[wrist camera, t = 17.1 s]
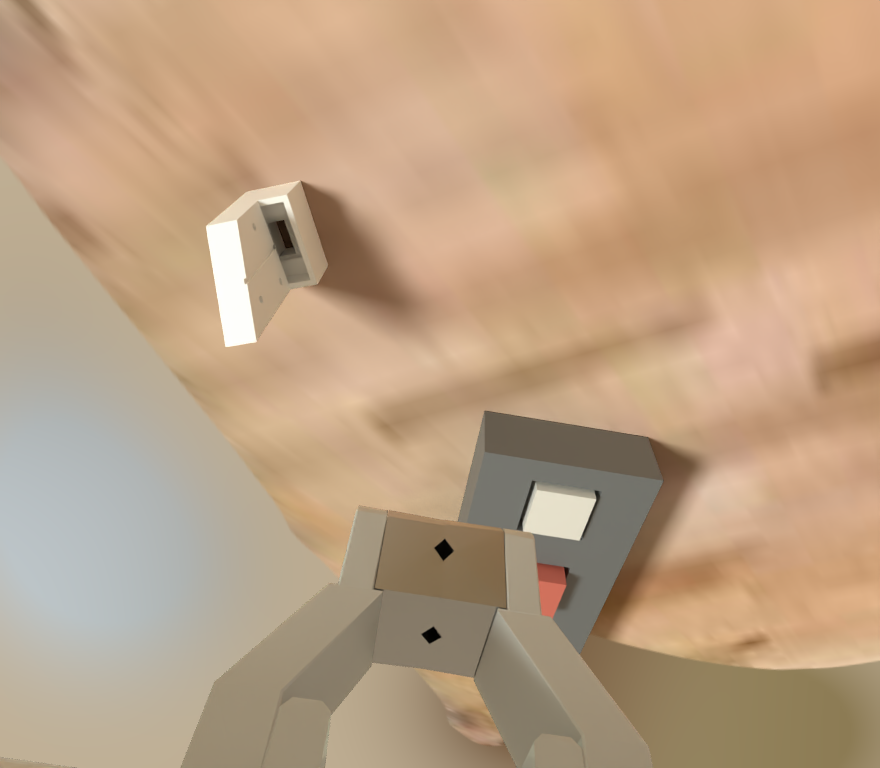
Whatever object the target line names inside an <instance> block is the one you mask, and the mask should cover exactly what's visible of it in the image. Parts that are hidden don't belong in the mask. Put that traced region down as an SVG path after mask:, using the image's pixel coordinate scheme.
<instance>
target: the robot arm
mask: <svg viewBox="0 0 880 768" xmlns="http://www.w3.org/2000/svg"><path fill="white" fill-rule="evenodd" d="M387 515H388V517H387ZM372 663H380V664H389V665H396V666H405V667H413V668H421V669H427V670H433V671H439V672H444V673H450V674H456V675H461V676H467V677H473V678H474V682H475V684H476V686H477V688H478V690H479V692H480V694H481V696H482V698H483V700H484V702H485V704H486V706H487V708H488V710H489V712H490V714H491V716H492V719H493V721H494V723H495V725H496V727H497V729H498V731H499V733H500V735H501V737H502V739H503V741H504V743H505V745H506V747H507V749H508V751H509V753H510V755H511V757H512V759H513V761H514V763H515V765H516V767H517V768H653V765H652V760H651V756H650V751H649V747H648V745H647V744H646V743H645V741H644V740H643V739H642V737H641V736H640V735H639V733H638V732H637V731H636V729H635V728H634V727H633V725H632V724H631V723H630V721H629V720H628V719H627V717H626V716H625V715H624V713H623V712H622V711H621V709H620V708H619V707H618V705H617V704H616V703H615V702H614V700H613V699H612V697H611V696H610V695H609V693H608V692H607V691H606V689H605V688H604V687H603V685H602V684H601V683H600V682H599V680H598V679H597V678H596V676H595V675H594V674H593V672H592V671H591V670H590V668H589V667H588V666H587V664H586V663H585V662H584V660H583V659H582V658H581V656H580V655H579V654H578V652H577V651H576V650H575V648H574V647H573V646H572V644H571V643H570V642H569V640H568V639H567V638H566V636H565V635H564V634H563V632H562V631H561V630H560V628H559V627H558V626H557V624H556V623H555V622H554V620H553V619H552V618H551V617H550V616H544V615H542V612H541V602H540V591H539V581H538V570H537V560H536V550H535V539H534V536H533V534H532V533H531V532H524V531H517V530H510V529H504V528H503V529H501V528H497V527H490V526H483V525H477V524H470V523H463V522H456V521H449V520H440V519H434V518H429V517H424V516H418V515H413V514H407V513H402V512H396V511H391V510H389V512H388V511H387V510H382V509H376V508H371V507H366V506H360V505H359V506H358V509H357V511H356V513H355V517H354V521H353V525H352V529H351V533H350V538H349V542H348V546H347V550H346V554H345V558H344V562H343V566H342V570H341V574H340V578H339V582H338V584H335V583H328V584H327V585H326V586H325V587H324V588H322V589H321V590H320V591H319V592H318V593H317V594H316V595H315V596H313V597H312V598H311V599H310V600H309V601H308V602H306V603H305V604H304V605H303V606H302V607H301V608H299V609H298V610H297V611H296V612H295V613H294V614H292V615H291V616H290V617H289V618H288V619H287V620H286V621H284V622H283V623H282V624H281V625H280V626H279V627H277V628H276V629H275V630H274V631H273V632H272V633H270V634H269V635H268V636H267V637H266V638H265V639H264V640H263V641H261V642H260V643H259V644H258V645H257V646H255V648H253V649H252V650H251V651H250V652H249V653H248V654H246V655H245V656H244V657H243V658H242V659H240V660H239V661H238V662H237V663H236V664H235V665H234V666H232V667H231V668H230V669H229V670H228V671H227V672H226V673H224V674H223V675H222V676H221V677H220V678H219V679H217V680H216V681H215V682H214V685H213V687H212V689H211V692H210V695H209V697H208V700H207V702H206V705H205V707H204V710H203V712H202V715H201V717H200V720H199V722H198V725H197V727H196V730H195V732H194V735H193V737H192V740H191V742H190V745H189V747H188V750H187V752H186V755H185V758H184V760H183V763H182V765H181V768H325V763H326V754H327V745H328V736H329V726H330V718H331V715H332V714H333V712H334V711H335V710H336V709H337V707H338V706H339V705H340V704H341V703H342V701H343V700H344V699H345V698H346V696H347V695H348V694H349V693H350V692H351V690H352V689H353V688H354V686H355V685H356V684H357V683H358V682H359V681H360V679H361V678H362V677H363V676H364V674H365V673H366V672H367V671H368V670H369V668H370V667H371V665H372ZM0 768H75V767H67V766H60V765H53V764H46V763H39V762H32V761H25V760H18V759H10V758H3V757H0Z"/></svg>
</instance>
